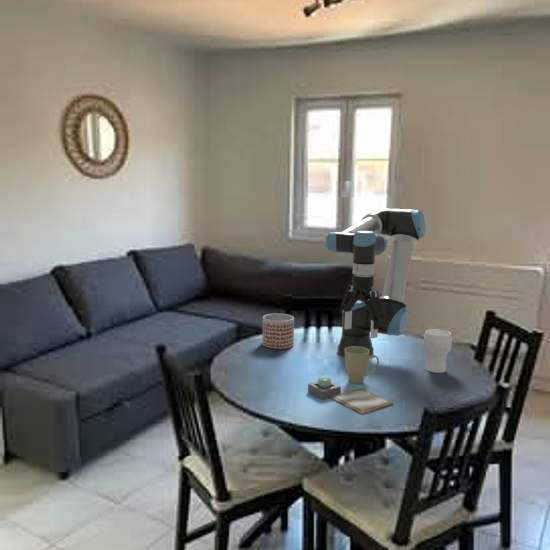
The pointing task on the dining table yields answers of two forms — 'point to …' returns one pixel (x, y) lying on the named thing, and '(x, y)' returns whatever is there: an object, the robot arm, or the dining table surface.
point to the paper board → (361, 400)
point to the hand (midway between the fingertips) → (360, 333)
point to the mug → (357, 363)
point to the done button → (324, 382)
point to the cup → (437, 349)
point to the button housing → (323, 390)
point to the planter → (278, 331)
